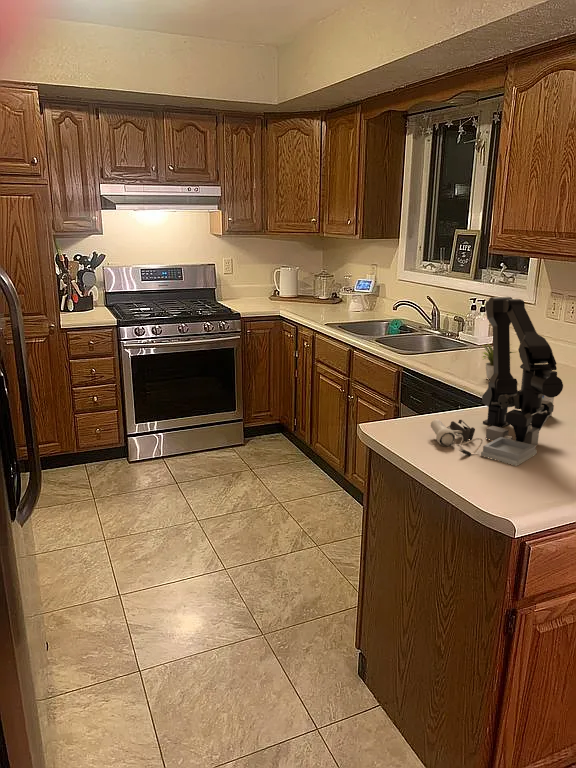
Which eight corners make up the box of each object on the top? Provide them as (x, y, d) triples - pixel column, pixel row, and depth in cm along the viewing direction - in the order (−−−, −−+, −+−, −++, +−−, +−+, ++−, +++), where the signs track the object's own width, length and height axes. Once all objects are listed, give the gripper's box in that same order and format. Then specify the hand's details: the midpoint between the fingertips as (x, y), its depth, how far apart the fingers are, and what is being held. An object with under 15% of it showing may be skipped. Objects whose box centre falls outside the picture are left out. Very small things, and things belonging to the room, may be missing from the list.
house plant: (490, 385, 234) (493, 344, 229) (466, 377, 246) (469, 338, 242) (518, 381, 239) (522, 341, 235) (493, 374, 251) (496, 335, 247)
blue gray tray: (501, 444, 171) (502, 435, 171) (536, 453, 165) (537, 444, 164) (480, 456, 163) (481, 446, 163) (516, 466, 156) (517, 456, 156)
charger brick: (522, 441, 175) (524, 422, 173) (537, 445, 171) (539, 426, 170) (515, 445, 171) (516, 426, 170) (530, 449, 168) (532, 430, 167)
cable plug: (491, 436, 178) (492, 425, 178) (513, 442, 174) (514, 431, 173) (485, 439, 176) (486, 428, 175) (507, 445, 171) (508, 433, 171)
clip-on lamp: (488, 464, 166) (460, 429, 181) (494, 444, 163) (466, 411, 179) (448, 464, 163) (424, 429, 179) (454, 444, 160) (429, 410, 176)
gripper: (519, 376, 179) (514, 426, 183) (488, 388, 166) (484, 442, 170) (557, 383, 171) (551, 435, 175) (528, 396, 159) (522, 452, 163)
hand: (526, 440), depth 171 cm, fingers open, 9 cm apart
